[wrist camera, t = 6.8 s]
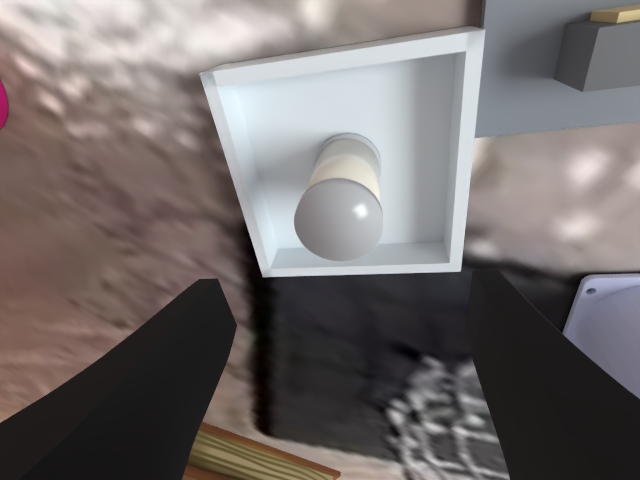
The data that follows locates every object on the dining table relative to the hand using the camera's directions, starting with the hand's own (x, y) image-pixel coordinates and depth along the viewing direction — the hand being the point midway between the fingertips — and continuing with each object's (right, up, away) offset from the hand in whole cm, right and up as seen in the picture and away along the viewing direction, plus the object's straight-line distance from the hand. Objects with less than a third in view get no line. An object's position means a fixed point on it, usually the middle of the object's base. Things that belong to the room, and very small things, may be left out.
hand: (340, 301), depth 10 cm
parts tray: (+1, +6, +8) cm, 10 cm away
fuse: (+1, +6, +8) cm, 10 cm away
